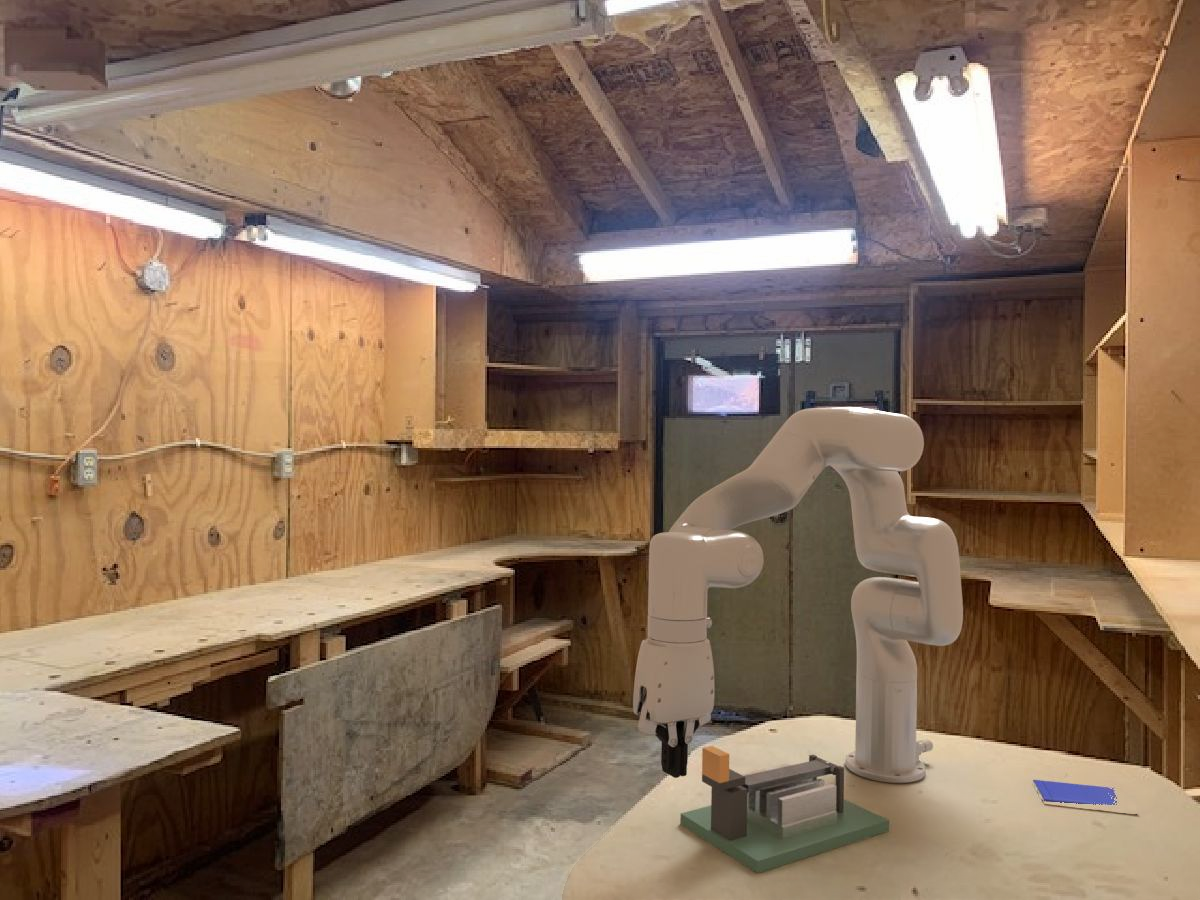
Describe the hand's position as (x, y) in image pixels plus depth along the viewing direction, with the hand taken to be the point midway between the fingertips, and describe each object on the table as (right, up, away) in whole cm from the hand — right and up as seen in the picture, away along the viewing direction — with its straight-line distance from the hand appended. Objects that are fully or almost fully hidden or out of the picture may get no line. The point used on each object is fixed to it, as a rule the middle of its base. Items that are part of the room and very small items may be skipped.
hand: (674, 773), depth 110 cm
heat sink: (+16, -10, +10) cm, 22 cm away
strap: (+17, -5, +10) cm, 20 cm away
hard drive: (+64, -13, +22) cm, 69 cm away
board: (+16, -11, +10) cm, 22 cm away
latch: (+7, -3, +4) cm, 9 cm away
